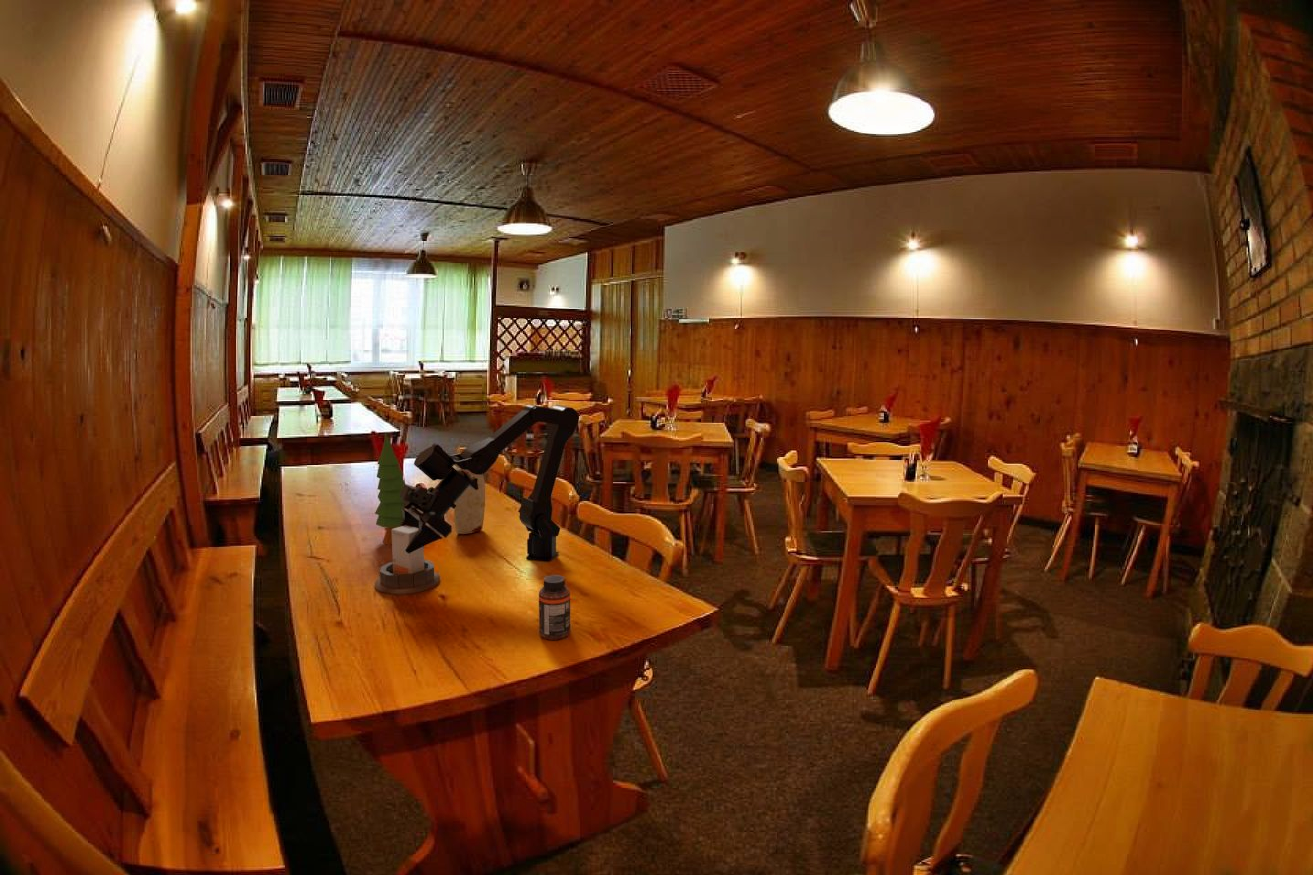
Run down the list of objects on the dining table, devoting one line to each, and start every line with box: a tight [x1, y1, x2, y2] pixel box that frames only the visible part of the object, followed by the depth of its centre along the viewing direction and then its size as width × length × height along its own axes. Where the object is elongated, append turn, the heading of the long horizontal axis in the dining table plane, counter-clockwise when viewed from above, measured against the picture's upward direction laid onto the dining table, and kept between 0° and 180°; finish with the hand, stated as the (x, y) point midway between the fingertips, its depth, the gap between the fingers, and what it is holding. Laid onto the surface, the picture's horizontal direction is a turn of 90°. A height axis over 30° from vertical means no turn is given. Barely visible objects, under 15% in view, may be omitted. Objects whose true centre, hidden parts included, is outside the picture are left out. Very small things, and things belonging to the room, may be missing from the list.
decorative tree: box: [374, 432, 406, 546], centre depth 187 cm, size 10×9×30 cm
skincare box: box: [391, 525, 425, 574], centre depth 158 cm, size 6×4×12 cm
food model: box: [453, 466, 486, 535], centre depth 197 cm, size 10×7×20 cm
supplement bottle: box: [538, 574, 571, 641], centre depth 133 cm, size 6×6×11 cm
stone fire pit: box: [374, 559, 441, 596], centre depth 158 cm, size 14×14×4 cm
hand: (400, 546), depth 157 cm, fingers open, 9 cm apart
